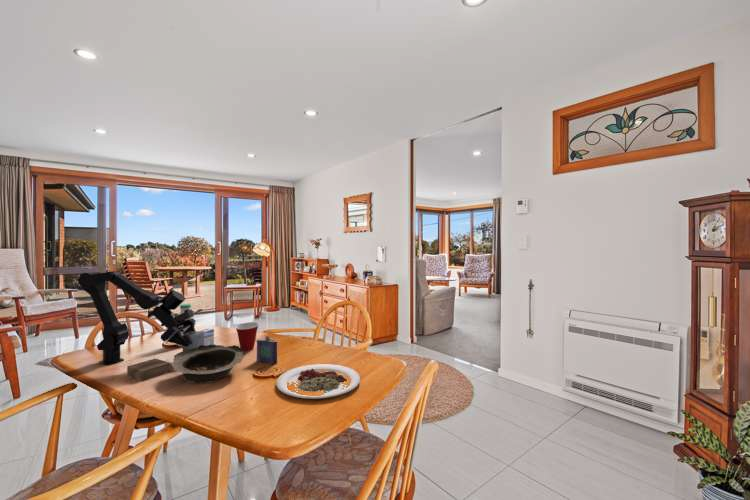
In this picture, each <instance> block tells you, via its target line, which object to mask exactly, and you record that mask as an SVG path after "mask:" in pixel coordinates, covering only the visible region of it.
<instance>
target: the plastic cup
mask: <svg viewBox="0 0 750 500" xmlns="http://www.w3.org/2000/svg"><path fill="white" fill-rule="evenodd" d="M259 324H260V323H259V322H252V321H251V322H243V323H239V324H237V325H235V326H234V328H235V330H236V333H237V337H238V343H239V347H240V348H241V349H243V352H249V351H250V352H251V351H252V350H254V348H255V343H256V340H257V332H258V328H259Z"/></svg>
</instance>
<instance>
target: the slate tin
mask: <svg viewBox="0 0 750 500" xmlns="http://www.w3.org/2000/svg"><path fill="white" fill-rule="evenodd" d="M183 337H184V339H185V340H186V341H187V342H188V344H189V346H188V347H186V346H182V352H183V351H185V350H191V349H192V348H193V349H194V348H197V347H199V346H201V345H204V331H202V330H199V331H197V330H195V331H190V332H188V333H186V334H184V335H183Z"/></svg>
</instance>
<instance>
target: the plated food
mask: <svg viewBox="0 0 750 500" xmlns="http://www.w3.org/2000/svg"><path fill="white" fill-rule="evenodd" d="M321 370H325V371H328V372H322V373H319V372H317V371H321ZM334 371H336V372H341V373H343V374H345V375H347V376H348V377H349V378H350V379H351V383H350V385H349V386H348V387H347V388H346V386H347V385H344V384H341V383H342V382H344V381H347V380H348V379H345V378H344V377H343V375H337V373H336V372H334ZM298 380H300V381H301V382H299V381H298ZM296 381H297V382H299V384H298V383H297V382H296ZM360 381H361V378H360V374H359V373H358V372H357V371H356V370H355V369H352V368H350V367H347V366H343V365H340V364H332V363H329V364H328V363H321V364H320V363H317V364H308V365H303V366H298V367H294V368H292V369H289V370H287V371H285V372H284V373H282V374H280V376H279V377H278V378H277V380H276V387H277V389H278V390H279V391H280V392H281V393H283V394H285V395H288V396H290V397H295V398H300V399H315V400H316V399H326V398H327V399H328V398H333V397H336V396H341V395H343V394H346V393H349V392H351V391H352V390H354V389H355V388H356V387H358V386H359V384H360ZM287 382H289V383H290V384H292V383H291V382H294V383H296V384H298V385H297V386H296V384H294V385H295V387H298V388H299V389H301V390H302V391H310V392H311V391H312V392H313V391H314V392H316V391H318V390H320V391H321V390H323V391H324V392H323V393H324V395H321V396H307V395H300V394H297V393H296V392H298V391H296V392H295V393H294V392H291V391H290V390H288V388H287ZM344 383H345V382H344ZM290 384H289V385H290ZM343 385H344V386H345V387H343ZM342 388H344V389H342ZM295 390H296V389H295ZM297 390H298V389H297Z"/></svg>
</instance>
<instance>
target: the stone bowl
mask: <svg viewBox="0 0 750 500" xmlns="http://www.w3.org/2000/svg"><path fill="white" fill-rule="evenodd" d="M243 359H244V351H243V349H241V348H240V345H239V346H238V345H230V346H229V345H228V346H224V345H218V344H214V345H205V346H204V345H201V346H199V347H197V348H194V349H193V348H192V349H191V350H185V351H183V350H182V351H180V352H178V353H176V354H174V355H173V359H172V361H173V362H170V365H171V366H172V368H173V370H174V371H177V372H178V373H181V374H182V375H183V377H184V379H185V381H187V382H192V383H193V384H196V385H197V384H198V385H199V384H201V383H213V382H215V381H217V380H218V379H221V378H223V377H224V376H226V375H228V374H229V373H230V372H231V371H232V370H233V368H234V367H236V365H237V364H240V363H241V362H242V361H243Z"/></svg>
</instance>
